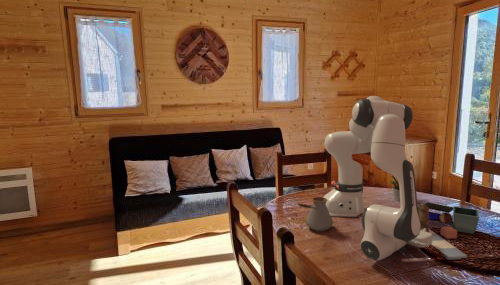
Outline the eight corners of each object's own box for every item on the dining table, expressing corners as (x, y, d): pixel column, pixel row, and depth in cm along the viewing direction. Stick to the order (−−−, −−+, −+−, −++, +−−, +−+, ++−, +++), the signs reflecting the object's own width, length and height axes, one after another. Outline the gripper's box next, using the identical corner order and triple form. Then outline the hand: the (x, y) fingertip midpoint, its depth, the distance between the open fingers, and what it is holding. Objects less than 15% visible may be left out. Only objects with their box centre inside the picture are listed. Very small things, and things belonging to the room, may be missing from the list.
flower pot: (477, 238, 131) (479, 216, 129) (451, 233, 136) (452, 212, 134) (476, 230, 138) (478, 209, 137) (451, 225, 143) (453, 205, 141)
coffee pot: (315, 220, 152) (315, 188, 150) (337, 227, 144) (338, 194, 142) (286, 235, 137) (286, 201, 135) (309, 244, 130) (309, 207, 127)
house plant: (421, 205, 168) (423, 173, 165) (393, 205, 168) (394, 174, 165) (408, 195, 182) (409, 166, 179) (382, 196, 182) (383, 167, 179)
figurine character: (413, 220, 153) (449, 227, 141) (412, 204, 152) (448, 209, 141) (419, 216, 157) (455, 222, 146) (418, 200, 157) (454, 205, 145)
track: (447, 259, 116) (448, 257, 116) (410, 230, 140) (410, 228, 139) (467, 258, 116) (467, 255, 116) (426, 229, 140) (426, 227, 140)
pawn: (420, 233, 134) (422, 207, 133) (414, 228, 139) (416, 203, 137) (431, 232, 135) (433, 206, 133) (424, 228, 139) (426, 202, 137)
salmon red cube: (446, 241, 130) (447, 231, 129) (440, 236, 134) (440, 227, 133) (456, 240, 130) (457, 230, 129) (449, 235, 134) (450, 226, 133)
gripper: (423, 238, 113) (441, 226, 121) (369, 220, 129) (387, 211, 137) (422, 255, 114) (439, 243, 122) (368, 235, 130) (387, 225, 138)
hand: (411, 226), depth 130 cm, fingers open, 8 cm apart
